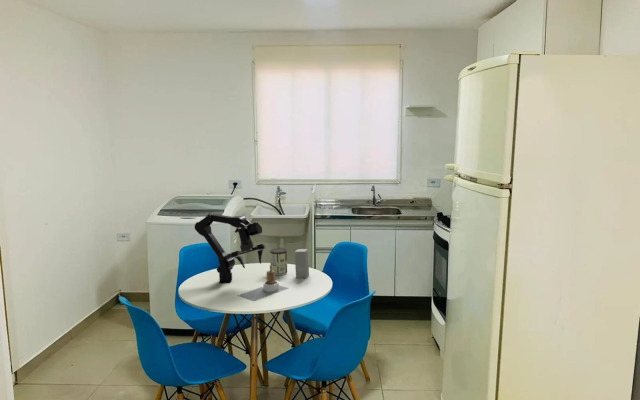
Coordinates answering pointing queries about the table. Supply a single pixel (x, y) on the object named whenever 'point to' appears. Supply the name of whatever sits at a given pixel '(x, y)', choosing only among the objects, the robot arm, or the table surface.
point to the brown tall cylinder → (270, 276)
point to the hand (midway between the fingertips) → (252, 265)
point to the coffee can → (278, 261)
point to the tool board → (263, 291)
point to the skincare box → (301, 263)
